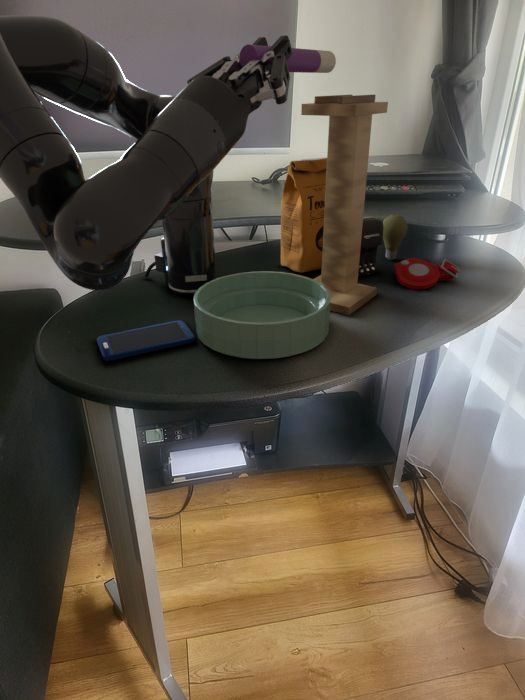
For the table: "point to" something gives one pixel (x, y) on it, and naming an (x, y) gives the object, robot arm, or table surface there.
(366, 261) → the battery charger
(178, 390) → the table surface
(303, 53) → the glue stick
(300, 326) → the bowl
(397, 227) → the light bulb
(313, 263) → the coffee package
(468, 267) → the table surface
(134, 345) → the cell phone
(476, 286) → the table surface
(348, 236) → the stand
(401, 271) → the tracker holder
